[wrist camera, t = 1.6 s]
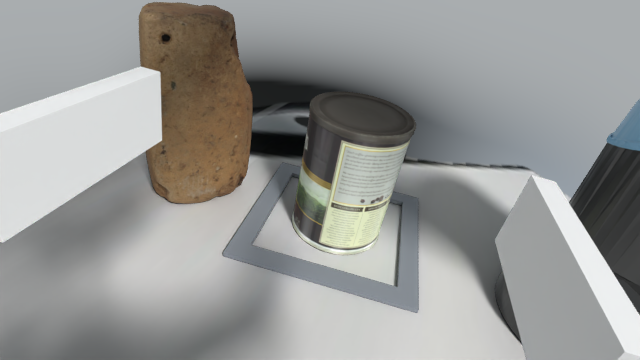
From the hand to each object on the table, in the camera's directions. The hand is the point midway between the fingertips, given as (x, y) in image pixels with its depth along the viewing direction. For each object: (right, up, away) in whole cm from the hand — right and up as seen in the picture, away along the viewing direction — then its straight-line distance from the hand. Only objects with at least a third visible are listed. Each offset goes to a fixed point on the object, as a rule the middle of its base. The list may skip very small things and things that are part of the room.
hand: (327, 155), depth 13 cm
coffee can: (+2, -6, +30) cm, 31 cm away
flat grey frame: (+2, -6, +30) cm, 31 cm away
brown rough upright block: (-15, -2, +32) cm, 35 cm away
